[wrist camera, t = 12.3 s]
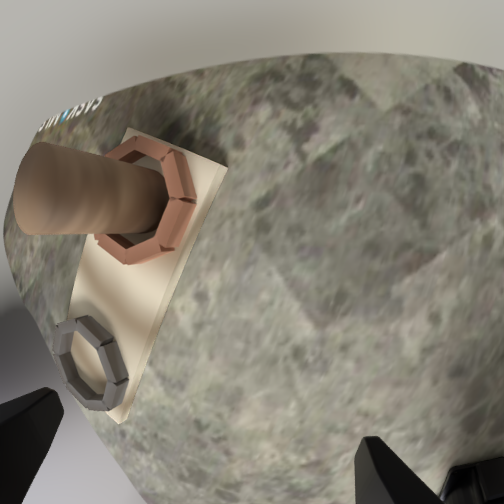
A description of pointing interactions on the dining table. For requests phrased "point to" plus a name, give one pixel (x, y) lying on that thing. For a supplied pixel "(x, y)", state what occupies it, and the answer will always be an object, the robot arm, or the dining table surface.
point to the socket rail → (132, 281)
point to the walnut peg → (85, 193)
